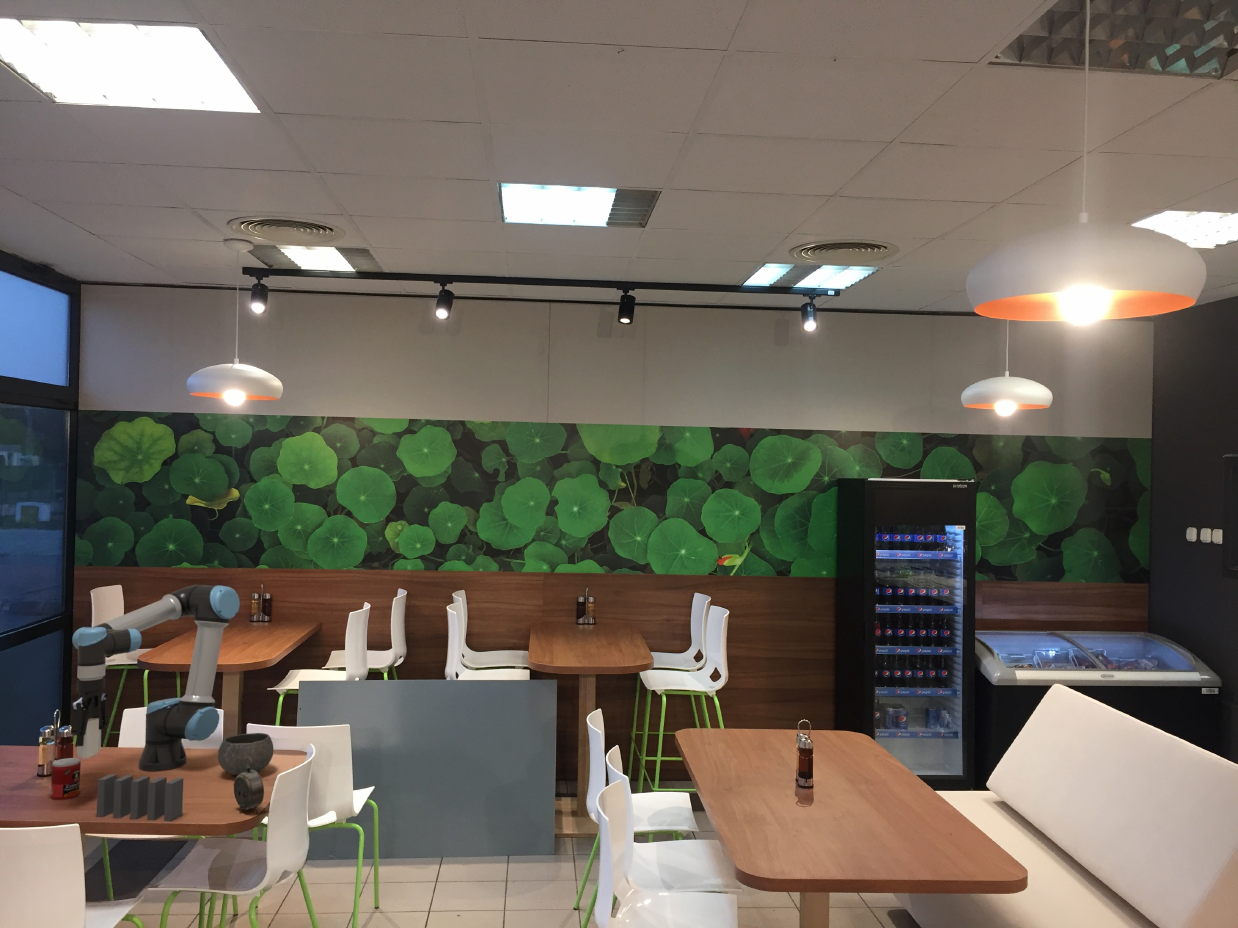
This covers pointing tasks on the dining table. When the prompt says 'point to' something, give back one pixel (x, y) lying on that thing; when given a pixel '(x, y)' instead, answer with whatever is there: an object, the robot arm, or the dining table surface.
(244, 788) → the alarm clock
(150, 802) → the tile
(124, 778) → the tile
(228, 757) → the bowl
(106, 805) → the tile
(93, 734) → the tile
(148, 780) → the tile
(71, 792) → the canned food
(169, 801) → the tile
